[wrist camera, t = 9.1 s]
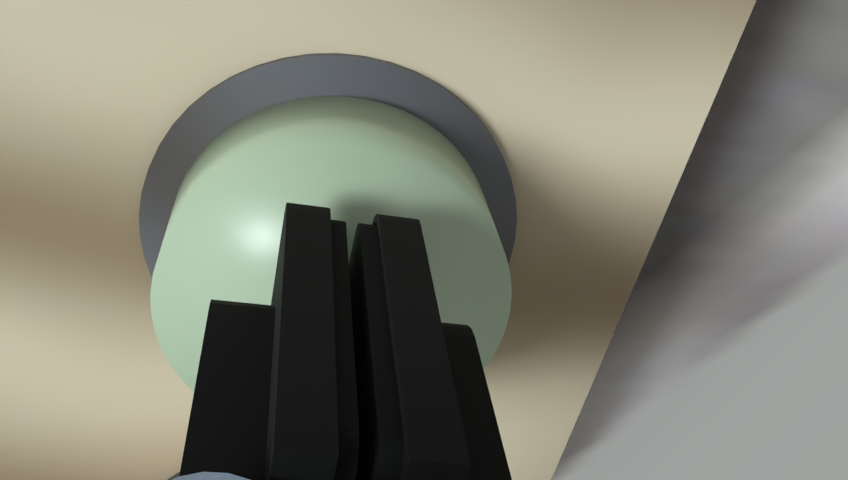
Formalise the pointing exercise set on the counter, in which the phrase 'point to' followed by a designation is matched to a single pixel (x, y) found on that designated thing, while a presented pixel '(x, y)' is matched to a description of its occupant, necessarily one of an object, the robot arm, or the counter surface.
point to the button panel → (327, 76)
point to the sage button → (348, 201)
